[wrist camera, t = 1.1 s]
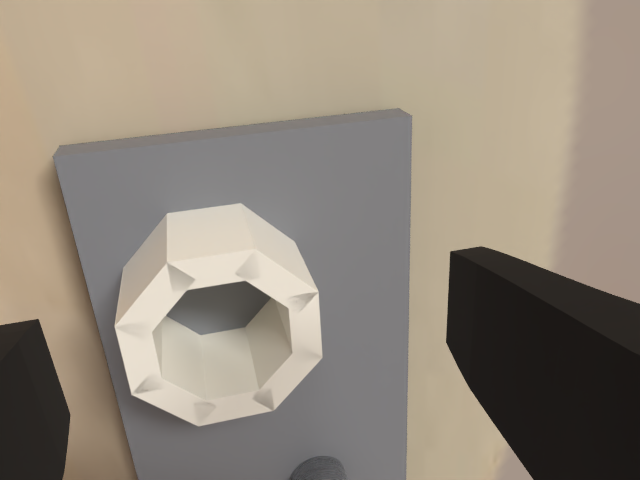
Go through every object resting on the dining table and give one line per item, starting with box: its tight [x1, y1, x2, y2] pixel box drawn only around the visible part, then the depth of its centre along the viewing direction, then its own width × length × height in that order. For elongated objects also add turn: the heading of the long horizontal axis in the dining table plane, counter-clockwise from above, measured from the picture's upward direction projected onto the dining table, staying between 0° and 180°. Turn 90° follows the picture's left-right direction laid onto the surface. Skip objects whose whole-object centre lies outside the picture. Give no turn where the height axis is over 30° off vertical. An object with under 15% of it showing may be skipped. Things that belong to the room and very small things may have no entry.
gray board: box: [53, 108, 412, 480], centre depth 22 cm, size 20×11×1 cm, turn 3°
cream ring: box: [114, 203, 323, 427], centre depth 18 cm, size 6×6×4 cm
